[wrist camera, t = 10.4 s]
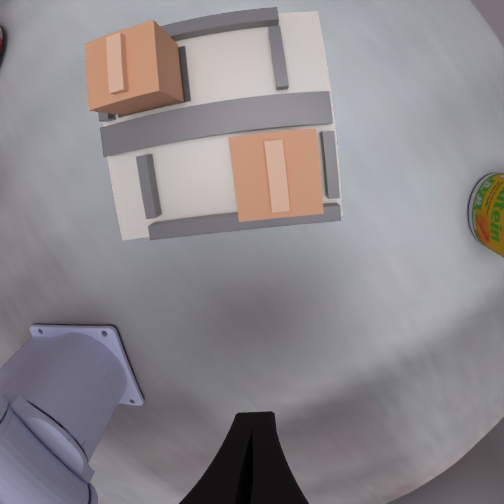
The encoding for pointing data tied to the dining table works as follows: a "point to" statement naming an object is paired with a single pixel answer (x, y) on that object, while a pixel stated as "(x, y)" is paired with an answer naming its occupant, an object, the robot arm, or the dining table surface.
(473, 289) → the dining table surface
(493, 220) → the supplement bottle
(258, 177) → the orange cube
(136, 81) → the cardboard box
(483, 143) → the dining table surface
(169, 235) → the divided tray
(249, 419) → the robot arm
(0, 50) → the soda can
